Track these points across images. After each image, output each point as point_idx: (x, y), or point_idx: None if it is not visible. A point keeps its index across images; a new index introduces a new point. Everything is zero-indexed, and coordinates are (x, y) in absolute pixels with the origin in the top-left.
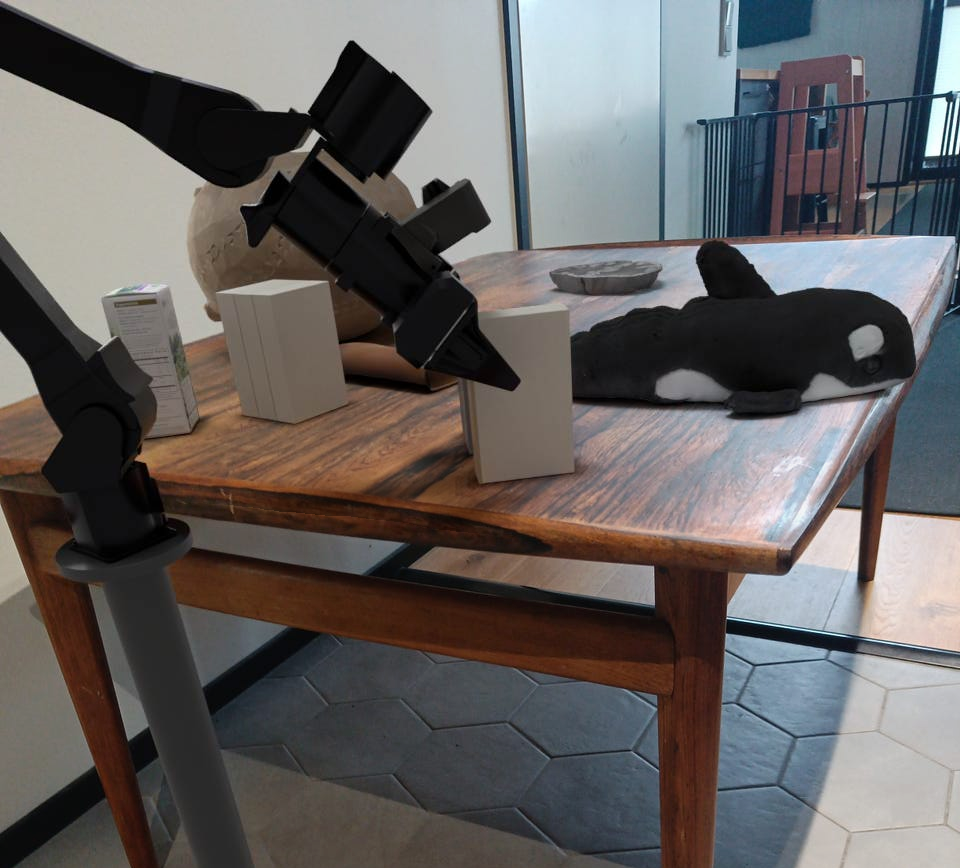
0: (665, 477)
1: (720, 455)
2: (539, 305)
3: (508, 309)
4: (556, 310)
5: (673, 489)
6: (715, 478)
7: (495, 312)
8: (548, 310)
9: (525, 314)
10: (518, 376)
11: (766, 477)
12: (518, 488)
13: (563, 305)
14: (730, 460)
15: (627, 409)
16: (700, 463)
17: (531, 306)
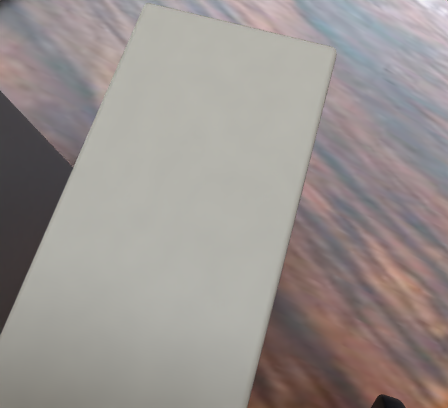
0: (368, 131)
1: (324, 20)
2: (108, 101)
3: (54, 284)
4: (321, 103)
5: (424, 149)
6: (412, 78)
7: (66, 397)
8: (292, 133)
9: (276, 270)
10: (388, 403)
11: (444, 25)
12: (276, 368)
13: (222, 24)
14: (353, 22)
15: (16, 4)
16: (340, 59)
17: (95, 144)
